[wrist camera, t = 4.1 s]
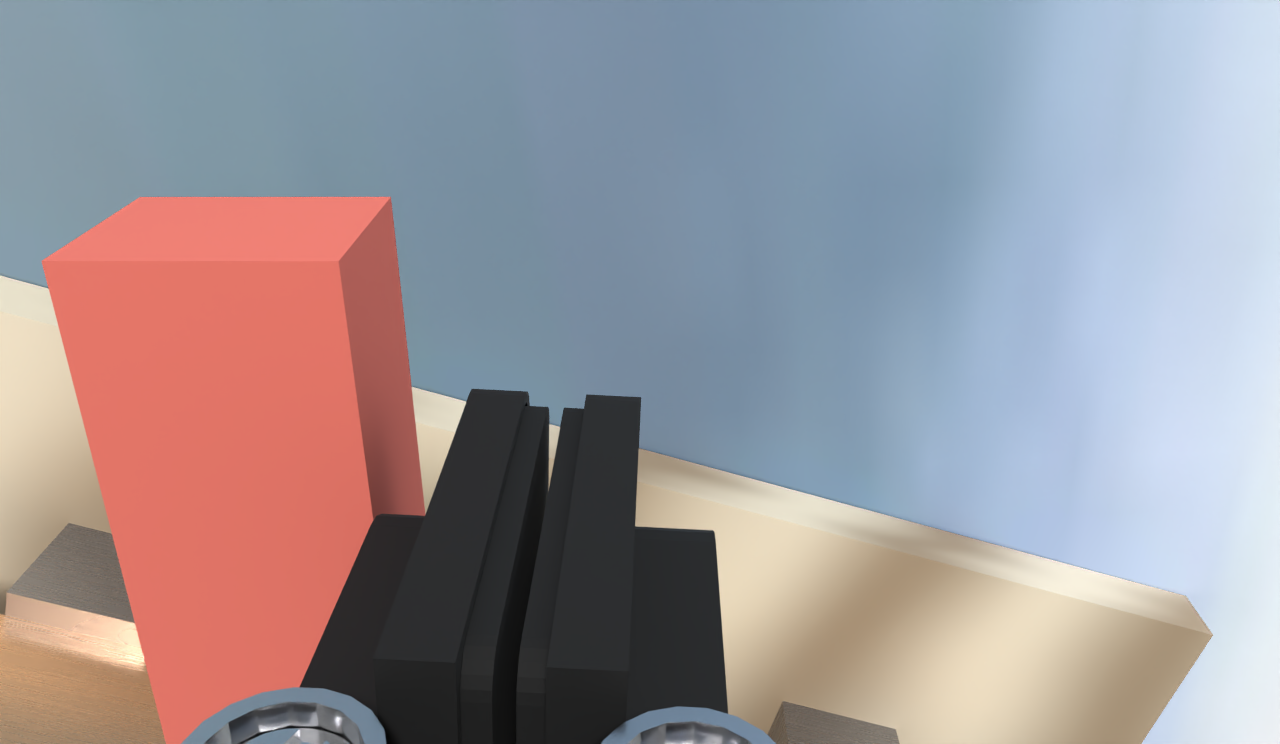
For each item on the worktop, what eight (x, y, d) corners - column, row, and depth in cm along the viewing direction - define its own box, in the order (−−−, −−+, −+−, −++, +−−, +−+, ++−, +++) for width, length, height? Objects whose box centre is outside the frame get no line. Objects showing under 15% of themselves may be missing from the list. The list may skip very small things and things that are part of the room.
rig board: (1185, 595, 22) (1213, 635, 21) (944, 975, 27) (956, 1022, 26) (-160, 232, 19) (-210, 255, 18) (-147, 728, 24) (-186, 770, 23)
